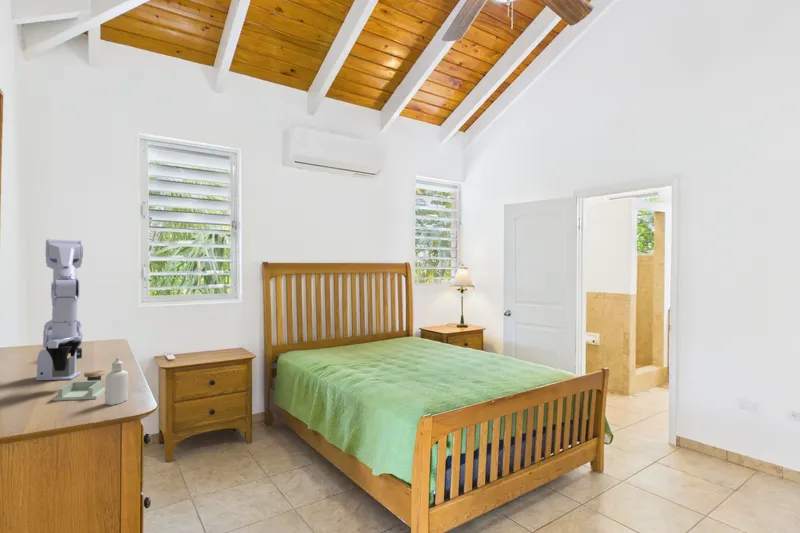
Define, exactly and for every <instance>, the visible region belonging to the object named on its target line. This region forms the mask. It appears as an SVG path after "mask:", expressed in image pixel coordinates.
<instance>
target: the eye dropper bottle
mask: <svg viewBox="0 0 800 533" xmlns="http://www.w3.org/2000/svg"><path fill="white" fill-rule="evenodd" d="M123 367H124V362H123V361H121V360H120V357H119V356H117V357H115V361H113V362H112V363H111V371H110V372H109V373H108V374H106V375H105V382H104V386H105V387H104V388H105V392H104V396H105V397H104V404H105V405H107V406H114V405H115V404H116V405H119V404H123V403H125V402H126V401H128V399H129V372H127V371H126V370H124V368H123ZM124 401H125V402H124Z"/></svg>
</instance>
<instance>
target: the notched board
mask: <svg viewBox="0 0 800 533" xmlns="http://www.w3.org/2000/svg"><path fill="white" fill-rule="evenodd" d="M103 382H104V380H102V379H101V380H98V381H87V380H77V381H76V380H73V381H72V380H71V381H69V382H67V383H66V384H64V385H63V386H61V387H59V388H58V389H57V395H55V396H54V397H53V399H52V400H53V401H54V402H55V401H57V402H58V401H77V400H78V401H79V400H80V401H81V400H97V399H99V397H100V396H102V395H104V394H105V387H104V386H103Z"/></svg>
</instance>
